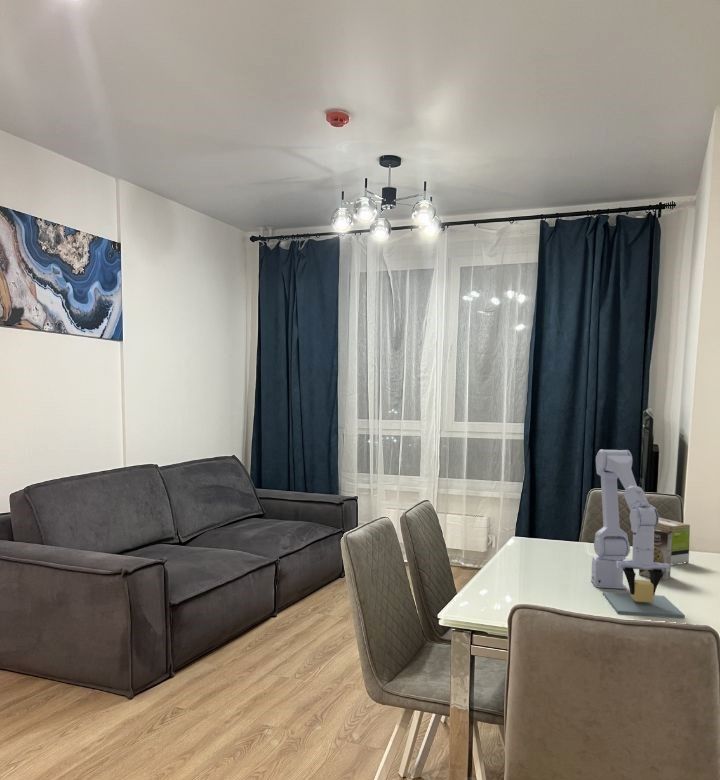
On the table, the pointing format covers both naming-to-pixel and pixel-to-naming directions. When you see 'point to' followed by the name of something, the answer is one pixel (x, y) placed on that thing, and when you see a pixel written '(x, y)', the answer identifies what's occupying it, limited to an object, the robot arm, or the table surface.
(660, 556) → the coffee box
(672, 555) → the tea box
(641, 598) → the mustard cube
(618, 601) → the slate mat
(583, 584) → the table surface
